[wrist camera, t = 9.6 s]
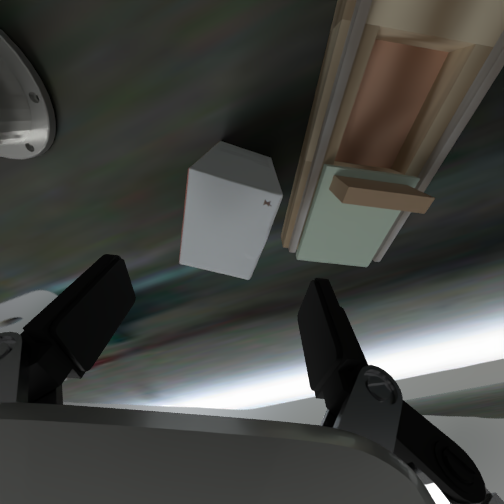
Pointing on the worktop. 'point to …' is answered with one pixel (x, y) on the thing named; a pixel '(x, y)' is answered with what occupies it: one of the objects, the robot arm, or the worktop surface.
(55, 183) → the worktop surface
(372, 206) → the lid
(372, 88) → the sliding lid wooden box
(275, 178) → the small box
